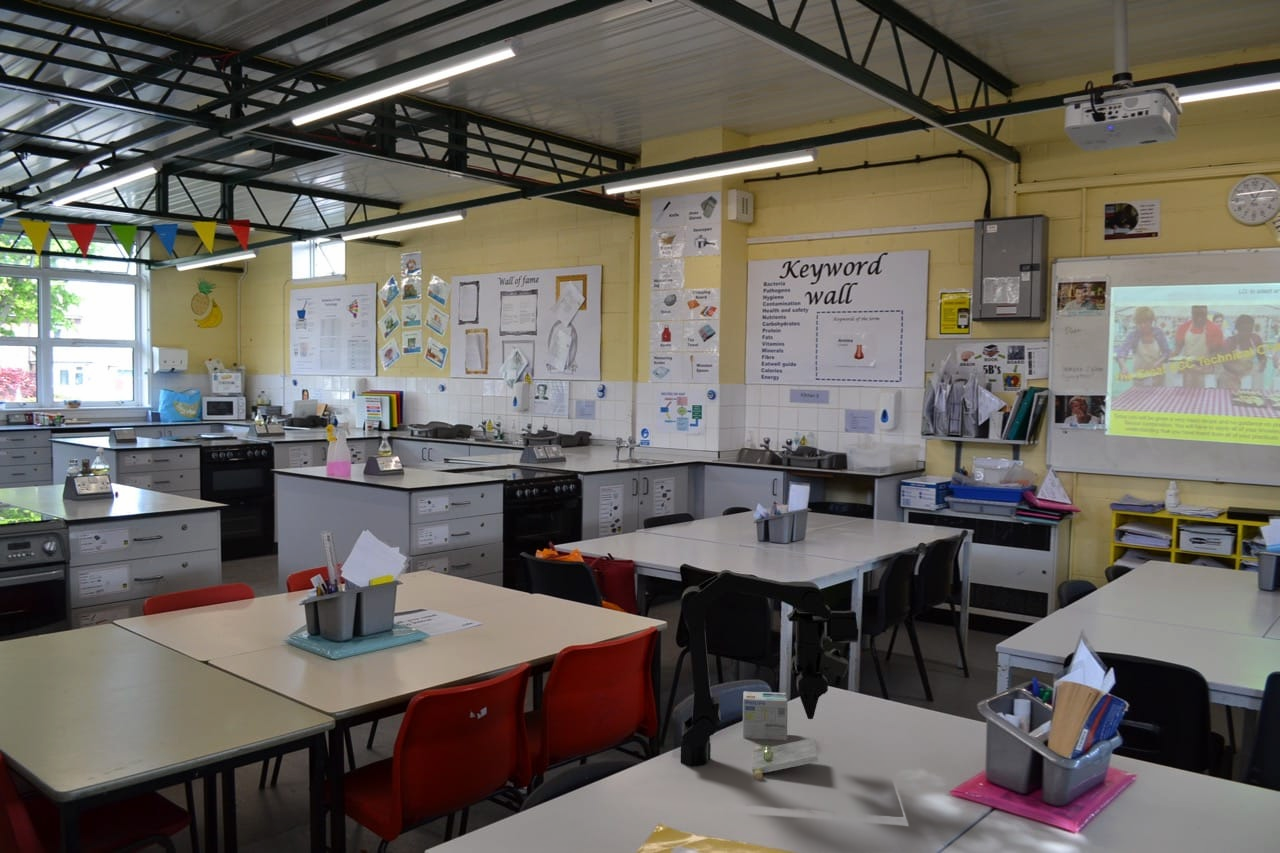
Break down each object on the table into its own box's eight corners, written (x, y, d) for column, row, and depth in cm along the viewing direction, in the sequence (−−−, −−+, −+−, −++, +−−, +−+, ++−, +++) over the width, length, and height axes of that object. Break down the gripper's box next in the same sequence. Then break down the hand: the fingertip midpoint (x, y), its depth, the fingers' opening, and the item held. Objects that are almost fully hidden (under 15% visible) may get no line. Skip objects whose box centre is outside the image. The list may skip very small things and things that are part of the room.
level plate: (753, 775, 194) (750, 762, 194) (754, 755, 205) (751, 743, 205) (818, 761, 192) (814, 748, 192) (815, 742, 203) (812, 730, 203)
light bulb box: (786, 735, 222) (786, 691, 222) (788, 745, 215) (788, 700, 215) (742, 733, 223) (742, 690, 223) (742, 743, 216) (743, 698, 216)
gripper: (852, 653, 189) (851, 728, 190) (840, 631, 208) (839, 699, 208) (798, 651, 190) (797, 726, 190) (791, 630, 209) (790, 698, 209)
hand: (808, 711), depth 200 cm, fingers open, 9 cm apart
